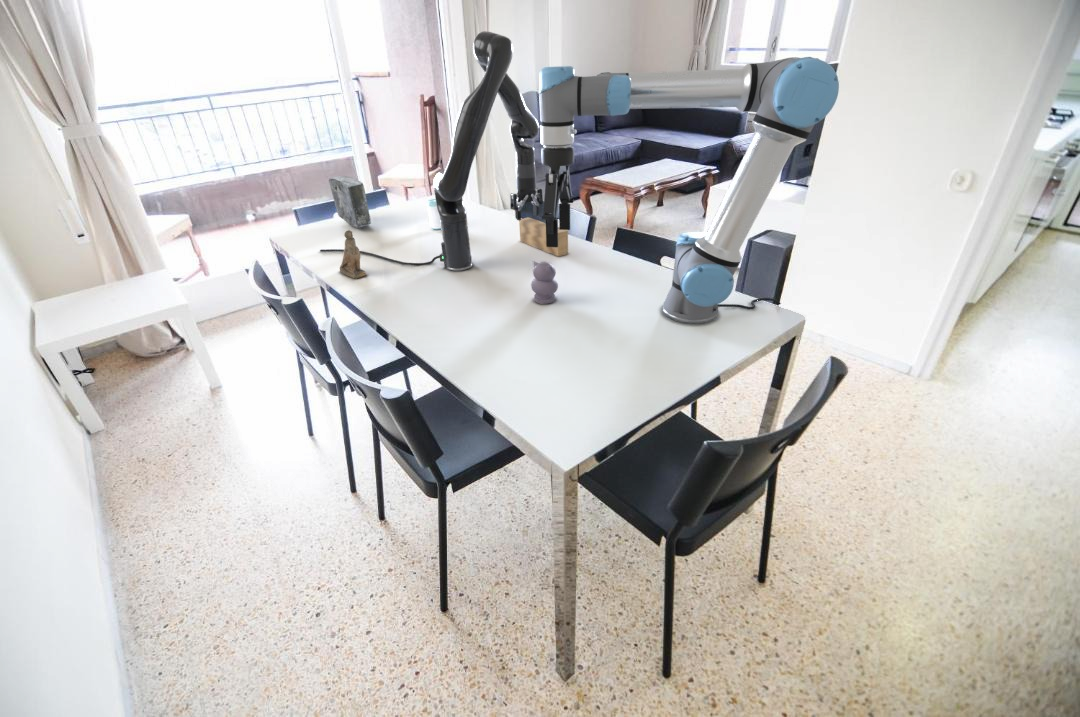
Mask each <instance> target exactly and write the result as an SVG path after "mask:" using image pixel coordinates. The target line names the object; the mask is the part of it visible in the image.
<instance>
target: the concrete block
mask: <svg viewBox="0 0 1080 717" xmlns="http://www.w3.org/2000/svg"><path fill="white" fill-rule="evenodd" d="M328 183H329V188H330V191H331V195H332V198H333V202H334V206H335V209H336V212H337V215H338V217H339V218H341V219H342V220H344V221H345V222H346V224H347V223H348V224H349V225H350V226H351V227H353V228H358V229H359V228H362V227H365V226H369V225H371V224H372V220H371V214H370V210H369V205H368V199H367V194H366V190H365V185H364V183H363V182H362V181H360V180H358V179H357V178H354V177H351V176H347V175H339V176H334V177H333V176H332V177H330V178H329V179H328Z"/></svg>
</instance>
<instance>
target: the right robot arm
mask: <svg viewBox="0 0 1080 717" xmlns="http://www.w3.org/2000/svg"><path fill="white" fill-rule="evenodd" d="M538 82H539V88H538V89H539V90H538V99H539V101H538V102H539V124H540V125H539V132H540V133H539V134H540V144H541V145H542V146H541V148H540V160H541V164H542V166H545V167H549V173H548V172H547V173H545V185H544V187H545V188H544V197H543V210H542V215H541V220H542V221H545V223H546V247H558V227H559V230H567V231H571V204H573V203H574V198H573V192H572V183H571V175H570V174H571V173H570V166H571V165H573V164H574V163H575V147H574V146H573V144H574V143H575V135H576V134H577V129H576V128H575V117H581V116H611V117H615V116H623V115H627V114H628V113H629V112H630V110H638V109H639V110H642V109H643V110H645V109H648V110H649V109H694V108H695V109H701V108H703V109H704V108H706V109H707V108H711V109H712V108H736V109H737V110H738V111H739V112H740V113H745V112H747V113H755V115H754V116H753V119H752V121H751V124H752V126H753V130H754V133H753V136H752V138H751V140H750V142H749V144H748V146H747V148H746V150H745V151H744V152H745V153H744V154H743V156H742V159H741V161H740V163H739V164H738V166H737V169H736V171H735V173H734V176H733V177H732V179H731V181H730V184H729V185H728V188H727V190H726V191H725V194H724V196H723V198H722V200H721V202H720V205H719V207H717V210H716V212H715V215H714V217H713V219H712V221H711V223H710V225H709V227H708V229H707V230H706V232H705V231H689V232H688V231H687V232H683V233H681V234H679V235H678V237H677V240H676V244H675V254H674V264H673V271H672V279H671V280H672V282H671V283H672V284H671V287H670V289H669V291H668V292H667V295H666V297H665V299H664V301H663V305H662V313H663V315H664V316H665V317H666V318H668V319H669V320H672V321H673V322H677V323H681V324H687V325H703V324H709V323H711V322H713V321H715V320H716V319H717V317H718V315H719V314H718V313H719V308H741V309H745V310H754V309H755V308H756V303H758V302H763V301H770V302H773V303H776V304H777V305H781V304H782V303H781V302H780V301H779V300H777V299H775V298H772V297H761V298H755V299H752V300H751V301H750V305H751V306H748V305H744V304H737V303H723V302H724V301H726V300H727V299H728V298H729V297H730V296H731V294H732V292H733V290H734V285H735V284H734V283H735V278H734V275H735V273H736V271H737V269H738V268H739V265H740V264H741V262H742V260H743V258H742V255H741V251H740V250H741V248H742V246H743V245H744V242H745V241H746V238H747V237H748V234H749V233H750V231H751V229H752V228H753V225H754V223H755V221H756V219H757V217H758V215H759V214H760V212H761V210H762V208H763V206H764V204H765V202H766V200H767V199H768V197H769V195H770V193H771V192H772V189H773V188H774V186H775V184H776V182H777V180H778V178H779V177H780V174H781V173H782V170H783V169H784V167H785V165H786V163H787V161H788V160H789V157H790V155H791V154H792V151H793V150H794V148H795V147H796V146H798V145H799V144H802V143H804V142H806V141H807V139H808V138H809V136H810V134H811V133H812V130H813V128H814V126H816V124H818V123H819V122H821V121H823V119H825V118H826V117H827V116H828V115H829V113H830V112H831V111H832V109H833V108H834V106H835V104H836V102H837V99H838V96H839V91H840V81H839V78H838V75H837V72H836V71H835V68H833V66H832V65H830V64H829V63H828V62H826V61H825V60H822V59H819V58H818V57H812V56H804V57H796V56H795V57H786V58H785V57H784V58H782V59H776V60H772V61H771V60H770V61H765V62H757V63H746V64H745V65H744V66H743V67H742V68H736V69H735V68H734V69H732V68H731V69H700V70H699V69H698V70H672V71H671V70H669V71H668V70H667V71H644V72H643V71H638V72H637V71H634V72H633V71H632V72H609V71H607V72H600V73H599V74H597V75H591V76H579V75H576V73H575V68H574V67H573V66H571V65H561V66H560V65H559V66H556V65H555V66H545V67H542V68H541V70H540V71H539V81H538ZM574 128H575V129H574ZM558 213H559V214H558ZM757 300H758V301H757Z"/></svg>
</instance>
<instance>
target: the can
mask: <svg viewBox="0 0 1080 717" xmlns="http://www.w3.org/2000/svg"><path fill="white" fill-rule="evenodd" d="M426 207H427V211H428V212H427V213H428V219H429V226H430V228H431V229H433V230H442V229H441V223H440V216H439V213H438V209H437V204H436V198H432V199H428V201H427V204H426Z"/></svg>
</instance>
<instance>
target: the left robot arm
mask: <svg viewBox="0 0 1080 717" xmlns="http://www.w3.org/2000/svg"><path fill="white" fill-rule="evenodd" d="M472 47H473V48H472V49H473V50H472V51H473V55H474V58H475V60H476V61H477V63H478V65H479V66H480V67H481V69H482V70H483V72H484V74H483V77H482V79H481V81H480V82H479V84H478V85H477V87H476V88H475V89H474V90H473V91H472V92H471V93H470V94H469V95H468V96H467V97H466V98H465V100H464V101H463V102H462V103H461V105H460V108H459V110H458V113H457V117H456V119H455V123H454V128H453V135H452V146H451V153H450V157H449V161H448V163H447V165H446V168H445V169H442V170H440V171H438V172H437V173H436V175H435V177H434V178H433V192H434V197H435V198H434V199H436V204H437V209H438V213H439V216H440V223H441V229H440V230H441V235H442V242H441V243H440V246H441V250H442V251H441V253H440V254H439V255H436V256H434V257H433V258H432V259H431V260H430V261H427V262H406V261H405V262H404V261H400V260H397V259H393V258H389V257H386V256H383V255H379V254H376V253H372V252H368V251H364V250H359V251H360V254H363V255H366V256H367V255H368V256H372V257H375V258H378V259H381V260H386V261H389V262H392V263H396V264H400V265H403V266H404V265H405V266H426V265H431V264H433V263H434V262H435V261H436V260H437V259H439V262H443V267H444V269H445V270H449V271H454V272H459V271H467V270H469V269H471V268H472V266H473V258H472V257H473V256H472V250H471V242H470V234H469V224H468V216H467V211H466V210H467V209H466V208H465V205H464V200H463V197H464V195H465V194H466V190H467V185H468V181H469V177H470V173H471V168H472V164H473V162H474V160H475V157H476V154H477V151H478V149H479V146H480V144H481V141H482V138H483V135H484V133H485V130H486V127H487V125H488V124H487V123H488V121H489V118H490V114H491V112H492V109H493V106H494V103H495V100H496V98H497V96H499V98H500V101H501V103H502V105H503V107H504V109H505V112H506V114H507V116H508V118H509V119H510V120H511V121H510V123H509V133H510V137H511V140H512V143H513V147H514V152H515V184H516V185H515V186H516V190H517V192H516V193H510V195H509V199H510V205H509V206H510V210H513V211H514V214H515V219H516V221H518V222H519V221H520V220H521V219H522V212H521V210H522V208H523V207H524V206H525V204H528V203H531V204H532V205H533V206H532V212H533V214H532V215H533V216H534V217H538V216H539V214H540V206H541V205H544V197H543V196H544V195H543V189H542V188H539V187H537V169H536V168H537V167H536V159H535V158H536V156H535V155H536V154H535V148H534V146H532V145H531V144H527V143H526V142H525V139H526V140H534V139H536V138H537V136H538V135H539V134H540V133H539V132H540V125H539V124H540V123H539V122H538V120H537V117H536V116H535V115H534V114H533V112H532V111H531V110H530V109H529V108H528V107H527V105H526V102H525V99H524V96H523V94H522V92H521V90H520V89H519V87H518V86H517V84H516V83H515V81H513V79H512V78H511V77H510V76H509V74H508V73H507V72H508V70H509V68H510V66H511V63H512V59H513V55H514V46H513V42H512V40H511V39H510V38H509V37H507V36H505V35H502V34H499V33H496V32H492V31H487V30H484V31H481V32H479V33H477V35H476V36H475V38H474V41H473V46H472ZM344 249H345V248H344ZM344 249H341V248H338V249H337V248H334V249H332V248H331V249H329V248H328V249H319V252H320V253H325V252H326V253H327V252H328V253H329V252H340V253H341V252H342V253H344Z"/></svg>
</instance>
